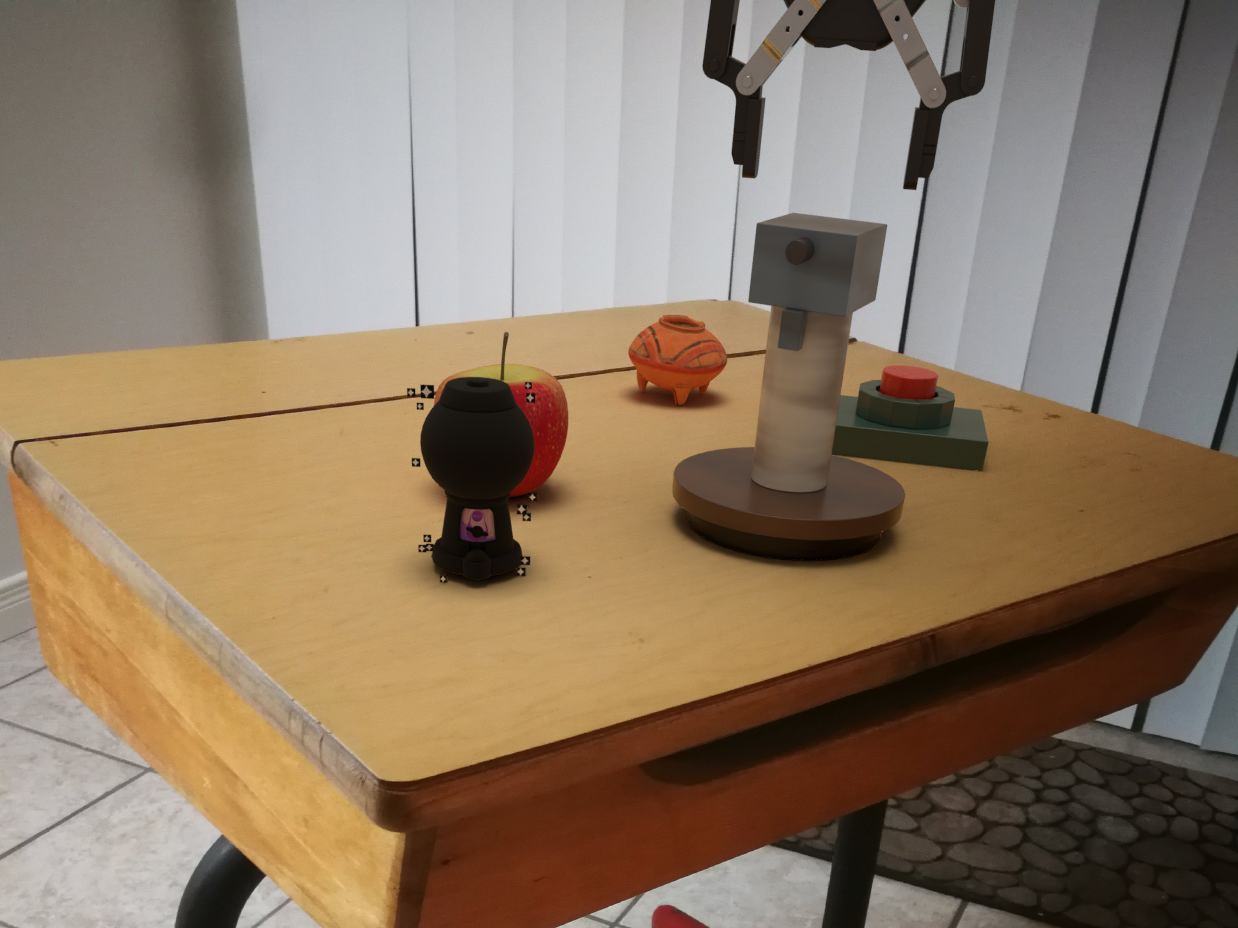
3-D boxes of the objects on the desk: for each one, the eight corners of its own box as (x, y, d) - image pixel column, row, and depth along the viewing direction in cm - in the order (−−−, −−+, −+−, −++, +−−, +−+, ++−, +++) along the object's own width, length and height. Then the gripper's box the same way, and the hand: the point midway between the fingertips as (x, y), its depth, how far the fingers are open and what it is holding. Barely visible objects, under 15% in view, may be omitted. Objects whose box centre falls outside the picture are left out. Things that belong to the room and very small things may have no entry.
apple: (441, 514, 76) (438, 340, 71) (429, 471, 83) (425, 309, 78) (576, 513, 78) (583, 342, 73) (553, 470, 85) (558, 312, 80)
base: (881, 506, 83) (885, 486, 82) (879, 571, 73) (883, 550, 72) (699, 485, 84) (701, 465, 83) (672, 546, 74) (674, 524, 73)
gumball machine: (408, 586, 67) (402, 391, 61) (415, 546, 72) (410, 362, 66) (536, 590, 67) (542, 397, 62) (534, 549, 72) (538, 368, 67)
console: (975, 438, 98) (987, 385, 96) (982, 472, 90) (994, 415, 88) (820, 421, 99) (827, 368, 97) (813, 453, 92) (821, 397, 90)
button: (933, 393, 94) (937, 368, 94) (934, 406, 91) (939, 380, 90) (878, 387, 95) (883, 362, 94) (878, 400, 92) (882, 375, 91)
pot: (675, 375, 108) (696, 296, 103) (730, 420, 104) (755, 340, 99) (599, 381, 104) (618, 299, 99) (654, 428, 100) (676, 345, 95)
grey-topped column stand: (721, 452, 85) (748, 198, 77) (926, 491, 81) (977, 225, 72) (634, 509, 74) (654, 220, 66) (865, 558, 70) (917, 254, 61)
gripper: (1026, -187, 62) (960, 186, 70) (734, -198, 63) (705, 167, 72) (1041, -212, 55) (966, 201, 64) (717, -224, 57) (687, 179, 66)
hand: (828, 182), depth 68 cm, fingers open, 8 cm apart
